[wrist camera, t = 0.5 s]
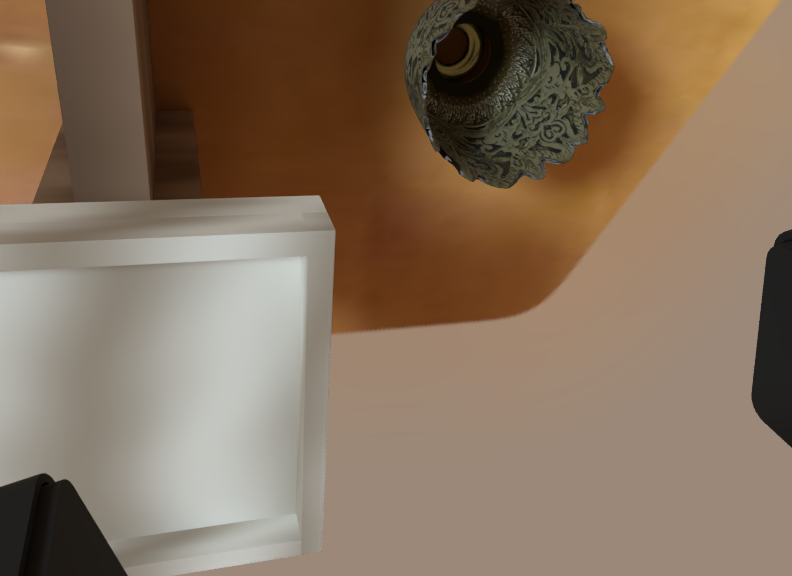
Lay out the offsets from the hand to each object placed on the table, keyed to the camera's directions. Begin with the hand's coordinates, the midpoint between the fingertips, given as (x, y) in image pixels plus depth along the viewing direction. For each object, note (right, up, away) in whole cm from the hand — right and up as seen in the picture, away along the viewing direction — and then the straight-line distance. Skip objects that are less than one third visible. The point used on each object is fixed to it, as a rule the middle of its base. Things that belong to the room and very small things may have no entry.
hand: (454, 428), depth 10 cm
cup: (+2, +13, +24) cm, 27 cm away
